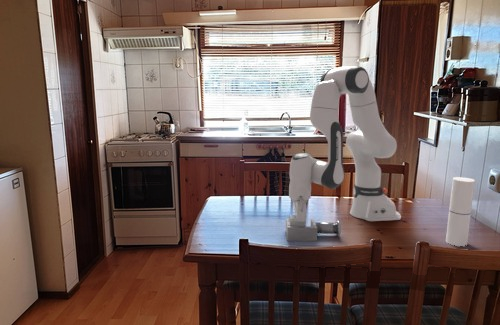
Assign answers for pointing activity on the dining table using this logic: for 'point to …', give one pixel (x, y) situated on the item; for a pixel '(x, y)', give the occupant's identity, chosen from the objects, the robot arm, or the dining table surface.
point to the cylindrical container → (460, 211)
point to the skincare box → (295, 221)
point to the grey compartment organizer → (311, 230)
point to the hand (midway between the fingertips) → (298, 225)
